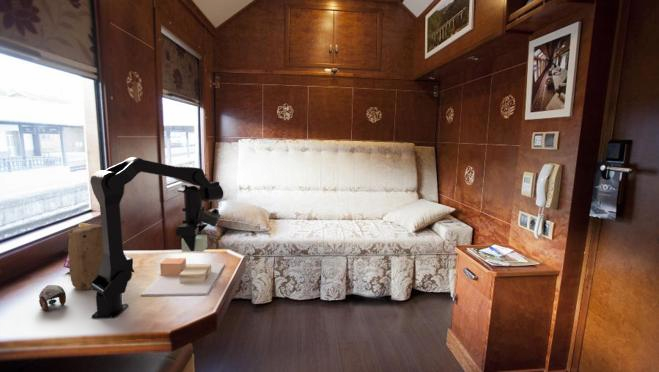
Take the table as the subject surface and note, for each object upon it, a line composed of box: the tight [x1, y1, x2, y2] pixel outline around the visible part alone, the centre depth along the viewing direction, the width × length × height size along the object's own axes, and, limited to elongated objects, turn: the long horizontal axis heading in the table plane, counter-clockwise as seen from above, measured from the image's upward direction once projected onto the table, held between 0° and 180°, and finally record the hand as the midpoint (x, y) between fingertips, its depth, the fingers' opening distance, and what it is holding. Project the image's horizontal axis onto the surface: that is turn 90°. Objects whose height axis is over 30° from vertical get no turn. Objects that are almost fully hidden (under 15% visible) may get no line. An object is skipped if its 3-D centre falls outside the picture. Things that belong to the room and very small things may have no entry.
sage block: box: [180, 234, 208, 253], centre depth 111 cm, size 5×7×4 cm
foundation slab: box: [179, 263, 212, 283], centre depth 113 cm, size 9×8×3 cm
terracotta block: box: [159, 257, 187, 276], centre depth 116 cm, size 5×7×4 cm
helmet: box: [38, 284, 67, 312], centre depth 91 cm, size 6×8×7 cm
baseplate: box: [140, 263, 225, 297], centre depth 113 cm, size 24×20×1 cm
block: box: [67, 223, 104, 291], centre depth 105 cm, size 11×8×20 cm
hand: (194, 248), depth 111 cm, fingers closed on sage block, 5 cm apart
